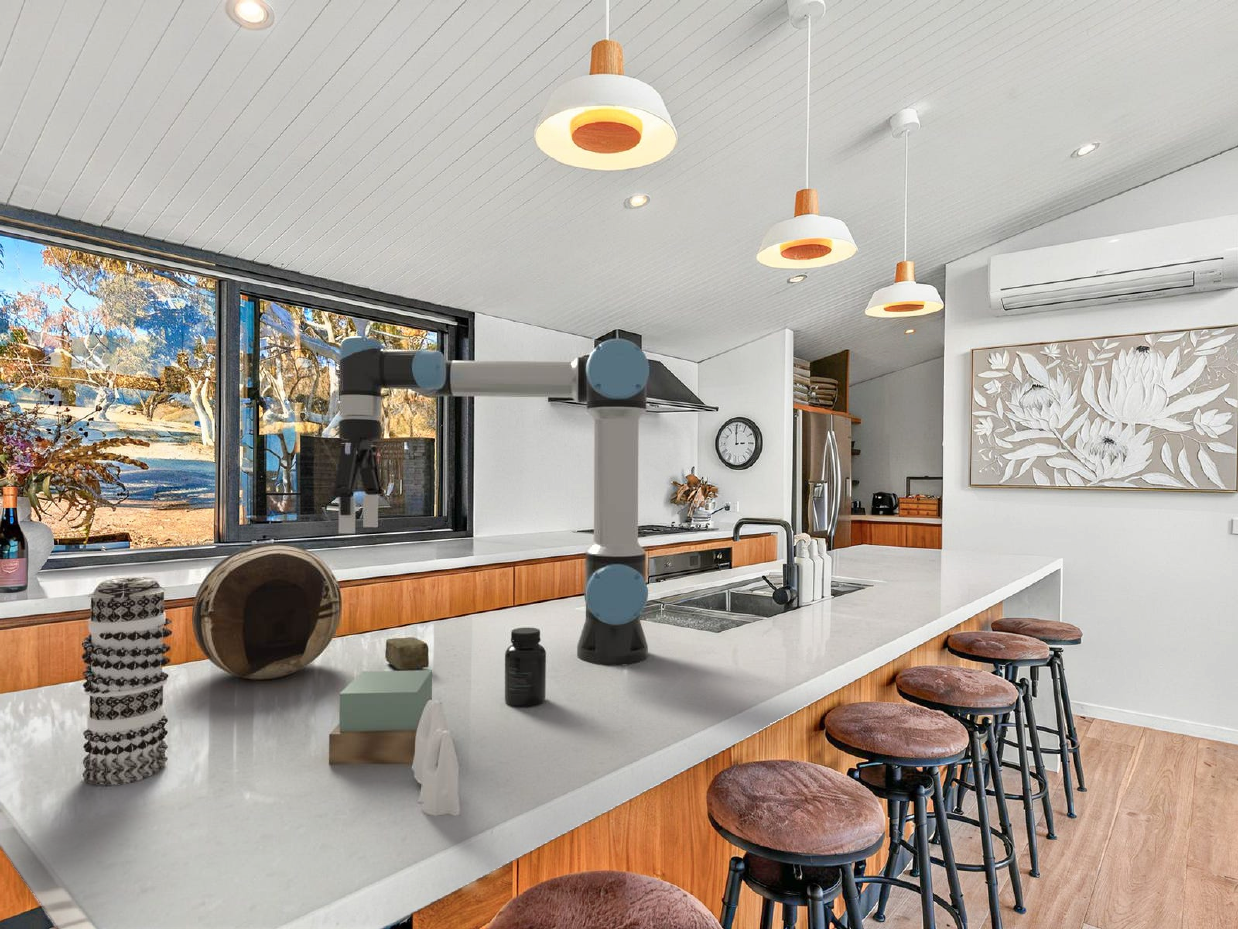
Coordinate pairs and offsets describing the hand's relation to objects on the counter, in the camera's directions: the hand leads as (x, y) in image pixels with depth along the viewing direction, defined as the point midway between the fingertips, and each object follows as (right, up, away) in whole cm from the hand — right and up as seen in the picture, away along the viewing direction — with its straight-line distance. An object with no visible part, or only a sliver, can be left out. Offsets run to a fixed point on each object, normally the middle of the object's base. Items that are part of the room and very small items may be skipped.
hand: (359, 530), depth 132 cm
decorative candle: (-12, -27, -46) cm, 55 cm away
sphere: (-16, -27, -3) cm, 32 cm away
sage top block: (+18, -23, -36) cm, 46 cm away
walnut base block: (+18, -28, -36) cm, 49 cm away
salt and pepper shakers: (+28, -27, -50) cm, 64 cm away
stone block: (+10, -28, 0) cm, 30 cm away
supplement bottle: (+34, -28, -16) cm, 47 cm away
